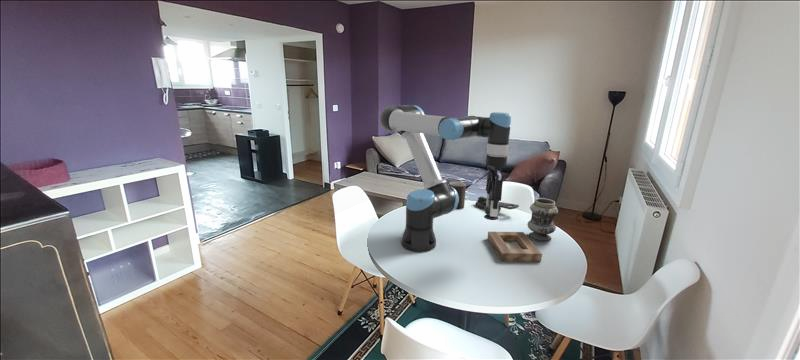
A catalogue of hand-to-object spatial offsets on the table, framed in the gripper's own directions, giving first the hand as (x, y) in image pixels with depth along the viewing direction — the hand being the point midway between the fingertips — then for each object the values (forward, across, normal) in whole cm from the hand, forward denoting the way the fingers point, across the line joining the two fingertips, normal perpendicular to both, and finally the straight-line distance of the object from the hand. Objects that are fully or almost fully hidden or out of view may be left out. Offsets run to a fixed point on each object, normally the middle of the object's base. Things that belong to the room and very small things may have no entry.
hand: (491, 212), depth 129 cm
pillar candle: (+19, +58, +4) cm, 61 cm away
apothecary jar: (+19, +20, -29) cm, 40 cm away
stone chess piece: (+2, 0, 0) cm, 2 cm away
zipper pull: (+19, +52, -17) cm, 58 cm away
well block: (+19, +7, -12) cm, 24 cm away
